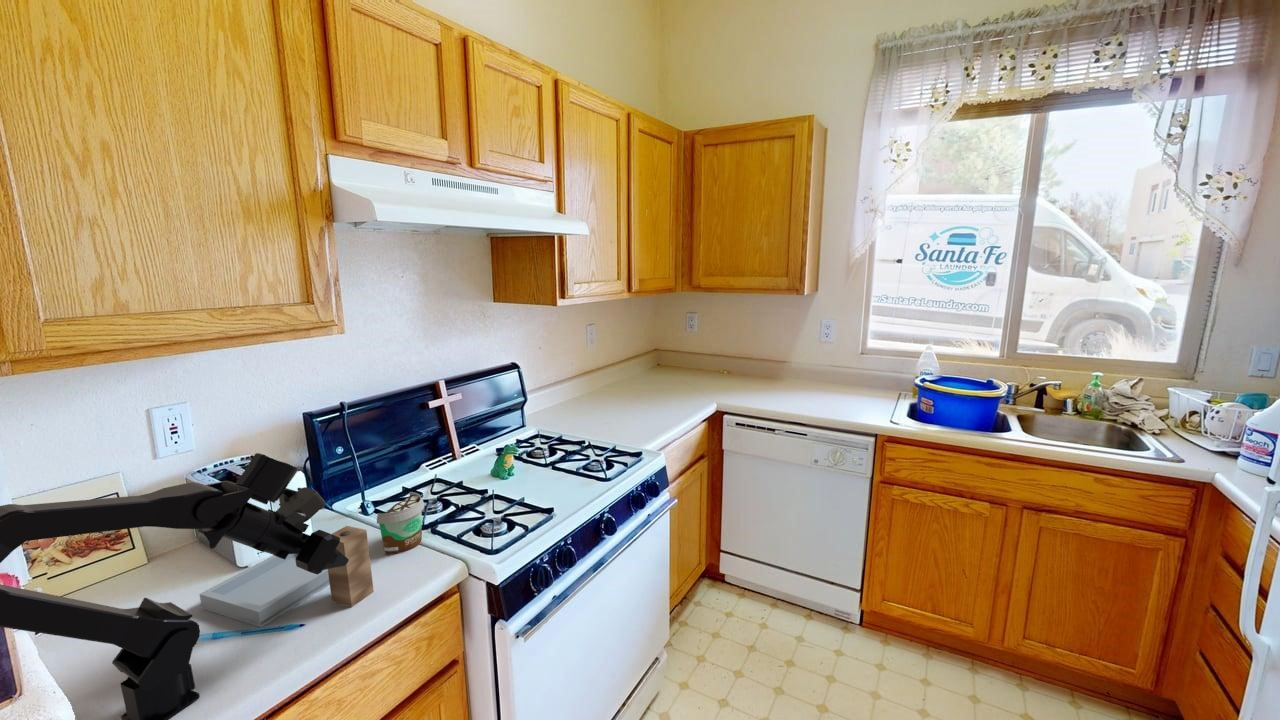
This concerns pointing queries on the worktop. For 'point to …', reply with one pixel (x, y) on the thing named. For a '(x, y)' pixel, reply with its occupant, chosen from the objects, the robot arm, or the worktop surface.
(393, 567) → the worktop surface
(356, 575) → the block
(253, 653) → the worktop surface
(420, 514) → the food container
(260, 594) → the tray
